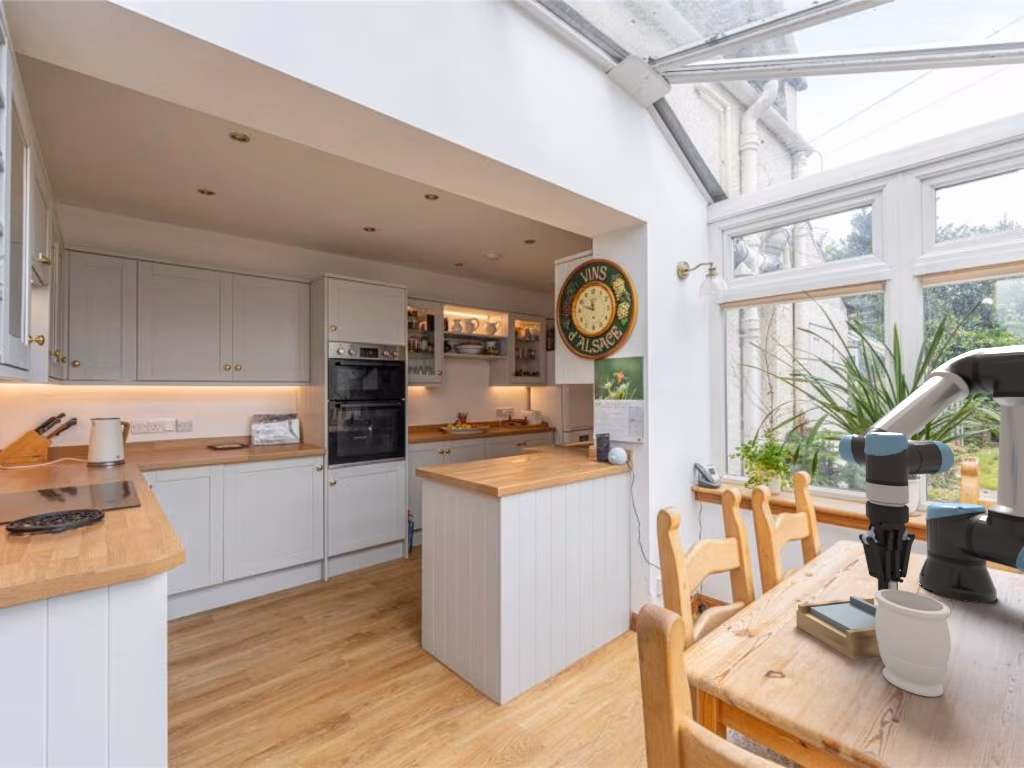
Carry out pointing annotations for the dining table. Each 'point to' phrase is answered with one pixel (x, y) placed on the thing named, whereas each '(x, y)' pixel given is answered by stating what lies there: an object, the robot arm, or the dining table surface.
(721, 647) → the dining table surface
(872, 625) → the cover plate
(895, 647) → the jar
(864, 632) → the slide box
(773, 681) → the dining table surface
